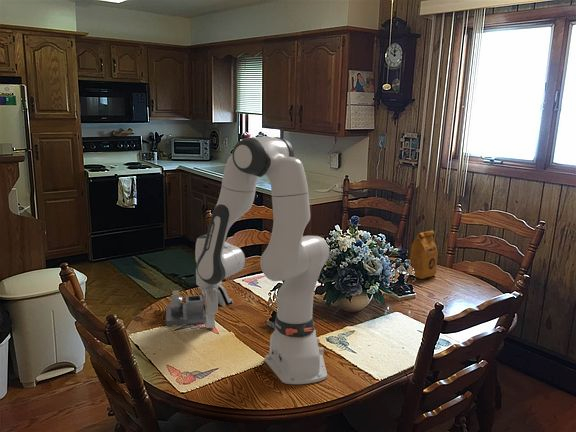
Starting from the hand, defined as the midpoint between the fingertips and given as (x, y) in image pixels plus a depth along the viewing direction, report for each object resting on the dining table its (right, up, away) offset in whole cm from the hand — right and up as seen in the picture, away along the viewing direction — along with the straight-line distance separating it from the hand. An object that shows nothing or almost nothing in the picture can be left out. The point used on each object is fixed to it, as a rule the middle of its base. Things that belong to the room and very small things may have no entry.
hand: (210, 315), depth 174 cm
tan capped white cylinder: (0, -4, +1) cm, 4 cm away
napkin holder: (-2, +1, +27) cm, 27 cm away
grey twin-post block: (-11, -2, +11) cm, 16 cm away
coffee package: (+92, +7, +59) cm, 109 cm away
